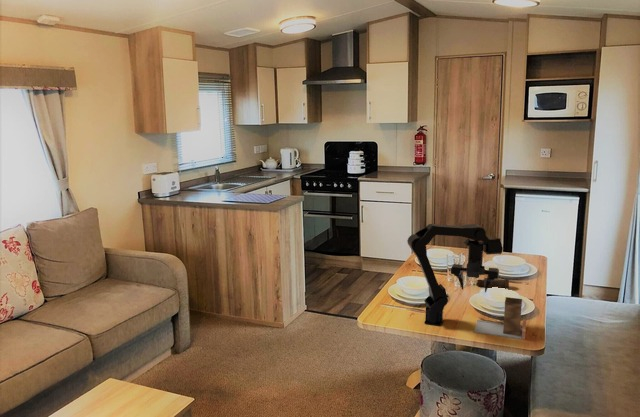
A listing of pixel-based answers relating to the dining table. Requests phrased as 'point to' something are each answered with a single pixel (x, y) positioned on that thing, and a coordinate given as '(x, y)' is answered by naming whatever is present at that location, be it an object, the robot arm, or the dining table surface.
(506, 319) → the brown wooden block
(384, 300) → the dining table surface
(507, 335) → the bay
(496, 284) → the bolt
